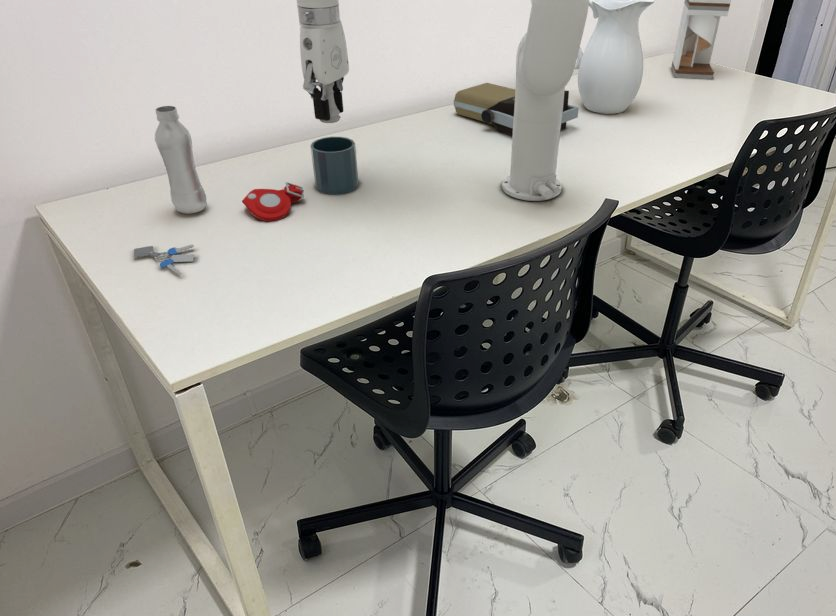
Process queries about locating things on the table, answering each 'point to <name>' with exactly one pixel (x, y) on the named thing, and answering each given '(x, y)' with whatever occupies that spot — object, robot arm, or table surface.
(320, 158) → the tumbler
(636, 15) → the pitcher
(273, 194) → the tracker holder
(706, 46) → the spiral staircase tower model
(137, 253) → the key chain
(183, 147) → the plastic bottle
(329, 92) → the rook chess piece
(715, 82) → the table surface
